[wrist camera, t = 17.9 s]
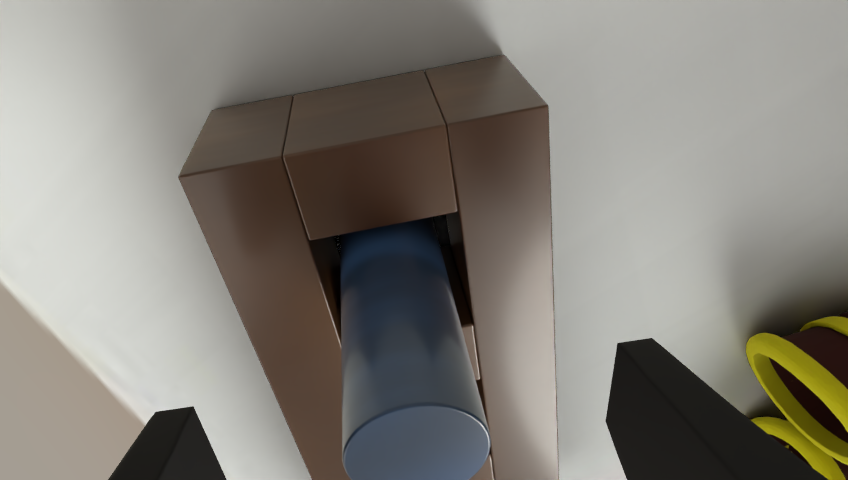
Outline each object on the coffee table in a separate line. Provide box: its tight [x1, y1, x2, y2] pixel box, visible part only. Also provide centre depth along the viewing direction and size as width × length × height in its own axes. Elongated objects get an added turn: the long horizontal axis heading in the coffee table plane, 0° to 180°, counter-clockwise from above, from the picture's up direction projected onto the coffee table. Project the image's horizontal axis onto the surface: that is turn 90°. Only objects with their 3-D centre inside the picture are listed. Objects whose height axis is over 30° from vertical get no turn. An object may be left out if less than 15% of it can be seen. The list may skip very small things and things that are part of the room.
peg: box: [340, 217, 491, 480], centre depth 13 cm, size 2×2×8 cm
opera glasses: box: [746, 312, 848, 480], centre depth 21 cm, size 10×5×5 cm, turn 11°
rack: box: [179, 55, 559, 480], centre depth 17 cm, size 7×18×4 cm, turn 9°
